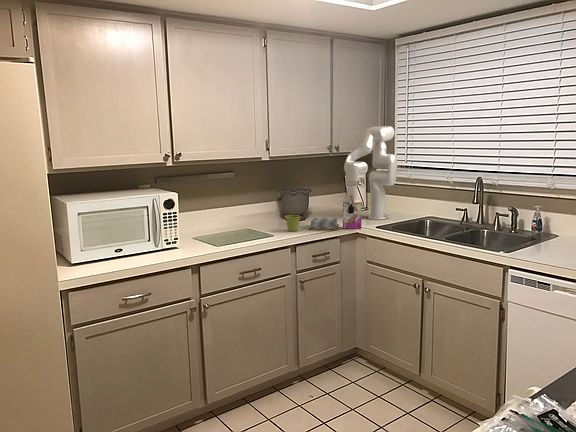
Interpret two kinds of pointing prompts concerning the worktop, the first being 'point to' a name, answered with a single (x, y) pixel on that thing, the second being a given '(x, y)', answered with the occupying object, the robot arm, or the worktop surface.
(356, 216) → the candy bar box
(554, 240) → the worktop surface
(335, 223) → the blueprint base
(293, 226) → the plant pot
